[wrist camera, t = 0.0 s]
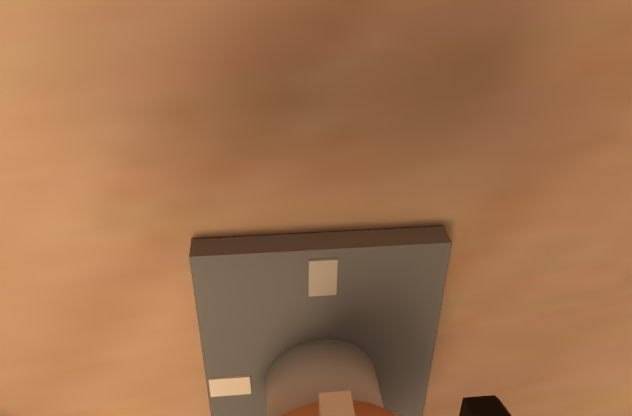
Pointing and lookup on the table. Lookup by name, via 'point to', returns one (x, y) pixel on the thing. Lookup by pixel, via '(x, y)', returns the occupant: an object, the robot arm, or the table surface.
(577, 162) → the table surface
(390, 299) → the post base
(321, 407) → the bayonet cap
